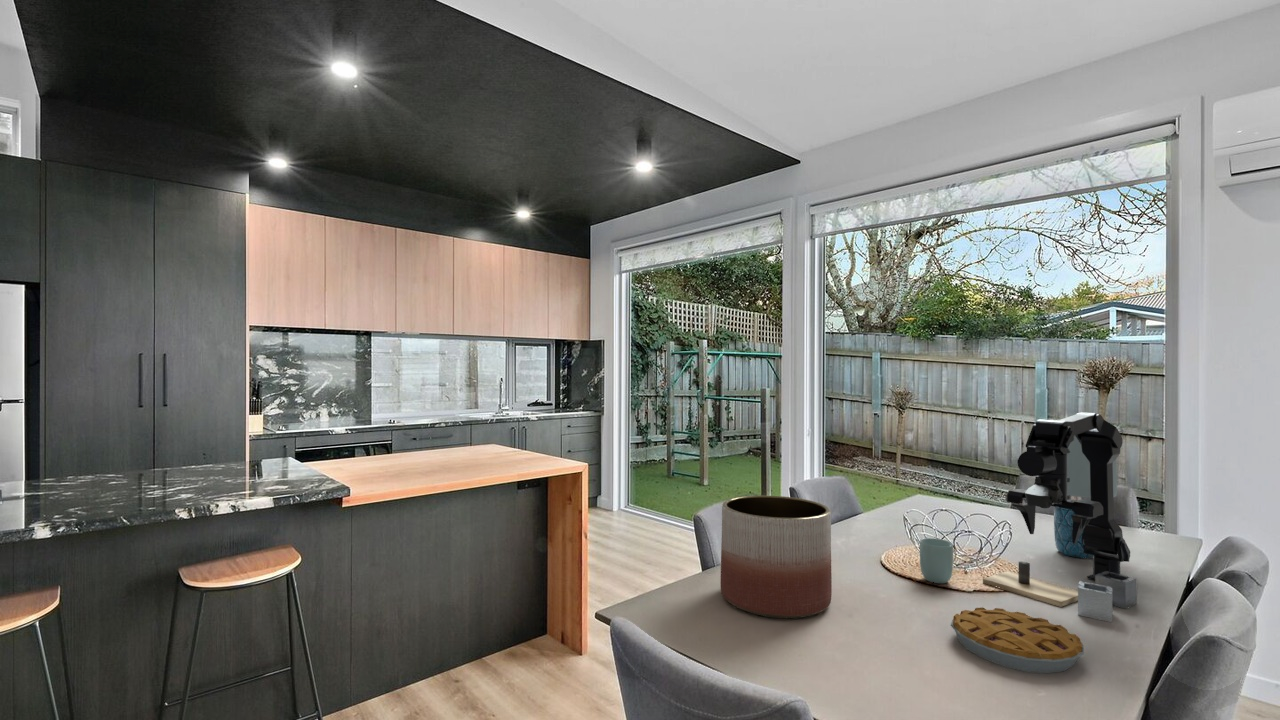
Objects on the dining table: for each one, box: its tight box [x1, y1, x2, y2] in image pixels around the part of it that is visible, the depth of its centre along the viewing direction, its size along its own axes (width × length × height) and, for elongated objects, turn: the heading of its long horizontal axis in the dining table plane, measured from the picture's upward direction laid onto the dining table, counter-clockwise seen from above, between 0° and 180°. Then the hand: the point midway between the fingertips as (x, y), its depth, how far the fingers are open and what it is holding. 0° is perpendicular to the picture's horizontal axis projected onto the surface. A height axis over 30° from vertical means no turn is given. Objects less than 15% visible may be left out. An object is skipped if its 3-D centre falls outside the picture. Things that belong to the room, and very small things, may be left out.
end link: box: [1094, 571, 1138, 610], centre depth 143 cm, size 6×6×6 cm
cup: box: [919, 537, 954, 584], centre depth 156 cm, size 8×8×10 cm
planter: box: [720, 495, 833, 619], centre depth 142 cm, size 25×25×22 cm
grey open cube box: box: [1077, 580, 1113, 623], centre depth 136 cm, size 6×6×6 cm
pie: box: [950, 606, 1085, 674], centre depth 118 cm, size 22×22×5 cm
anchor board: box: [982, 560, 1078, 608], centre depth 150 cm, size 12×18×6 cm, turn 31°
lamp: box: [1053, 436, 1118, 559], centre depth 181 cm, size 19×19×38 cm
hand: (1052, 538), depth 144 cm, fingers open, 9 cm apart
